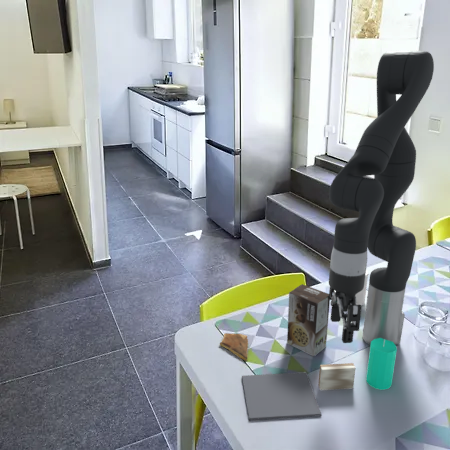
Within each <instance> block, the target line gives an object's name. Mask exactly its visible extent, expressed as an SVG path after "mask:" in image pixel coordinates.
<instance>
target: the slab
mask: <svg viewBox="0 0 450 450" xmlns="http://www.w3.org/2000/svg"><path fill="white" fill-rule="evenodd" d="M355 377H356V366H355V364H354V363H353V362H349V363H345V362H344V363H329V364H320V365H319V373H318V388H319V391H330V390H332V391H333V390H349V389H354V385H355Z"/></svg>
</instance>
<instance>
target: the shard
mask: <svg viewBox="0 0 450 450" xmlns="http://www.w3.org/2000/svg"><path fill="white" fill-rule="evenodd" d="M248 342H249V339H248V335H245V334H243V333H228V332H227V333H224V334H223V338H222V340H221V342H219V346H220V347H223V348H225V349H227V350H228V351H229V352H231V353H232V354H234V355H235V356H237V357H238V358H240V359H241V360H244V361H245V362H246V361H248V349H249V347H248V345H249V343H248Z"/></svg>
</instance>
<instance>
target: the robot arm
mask: <svg viewBox="0 0 450 450" xmlns="http://www.w3.org/2000/svg"><path fill="white" fill-rule="evenodd" d="M434 62H435V61H434V58H433V55H432V54H431V53H430V52H429V51H426V50H398V51H397V50H395V51H394V50H393V51H392V50H391V51H386V52H384V53H383V54H382V55H381V56H380V58H379V62H378V65H377V69H376V105H377V106H376V108H377V109H376V111H377V117H375V119H373V120H372V122H370V124H369V125H367V127H366V128H365V129H364V131H363V133H362V135H361V138H360V139H359V143H358V144H357V147H356V149H355V151H354V153H353V155H352V156H351V157H350V159H349V160H347V162H346V164H345V165H344V166H343V168H341V170H340V171H339V172H338V173H337V174H336V176H335V177H334V178H333V180H332V182H331V184H330V186H329V189H328V195H329V196H328V197H329V201H330V203H331V204H332V205H333V206H335V207H336V208H339V209H343V210H347V211H353V212H358V213H359V215H358V217H348V218H346V217H345V218H341V219H339V220H338V221H337V222H336V223H335V227H334V236H333V246H332V250H331V254H330V263H329V266H330V267H329V274H328V275H329V276H328V285H329V290H328V292H329V293H328V294H329V300H330V304H329V305H330V307H331V310H330V311H331V312H330V321H331V322H332V323H333V322H334V323H337V322H338V323H339V322H341V319H342V335H341V342H342V343H343V344H351V343H353V339H354V334H355V333H354V332H359V331H360V327H361V325H360V324H361V317H362V305H356V303H357V301H356V296H355V295H356V294H357V293H358V292H360V291H362V290H363V288H364V282H365V274H366V270H367V266H368V251H369V253H370V254H371V255H372V256H374V257H375V258H378V259H381V260H382V261H384V262H387V264H386V265H387V266H386V267H378V268H374V269H372V271H371V272H370V274H369V278H368V279H369V280H368V289H367V296H366V297H367V298H366V305H365V313H364V314H365V315H364V321H363V328H362V339H363V341H364V342H365V343H366V344H367V345H369V346H370V345H371V341H372V340H374V339H377V338H383V339H386V340H389V341H392V342H394V344H395V345H396V346H397V345H400V344H401V340H402V335H403V327H404V322H405V313H404V311H403V305H404V300H405V293H406V288H407V287H406V286H407V282H408V280H409V278H410V276H411V272H412V268H413V262H414V257H415V254H416V248H417V239H416V236H415V234H414V233H413V232H411V231H409V230H406V229H403V228H401V227H399V226H396V225H394V223H393V217H394V216H393V215H394V211H395V210H394V209H395V206H396V205H397V203H398V201H400V199H401V197H402V196H403V195H405V193H406V191H407V190H408V189H409V187H410V186H411V185H412V183H413V180H414V177H415V171H416V163H417V150H416V147H415V144H414V142H413V140H412V138H411V136H410V134H409V133H408V131H407V128H406V127H405V126H406V125H407V123H408V122H409V121H410V119H411V117H413V114H414V113H415V111H416V110H417V107H419V104H420V103H421V101H422V100H423V98H424V97H425V95H426V92H427V91H428V89H429V87H430V85H431V82H432V80H433V75H434V70H435V66H434V65H435V64H434ZM397 95H400V97H398V99H397ZM366 176H367V177H366ZM368 176H373V178H371V177H368ZM346 312H347V313H346Z"/></svg>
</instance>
